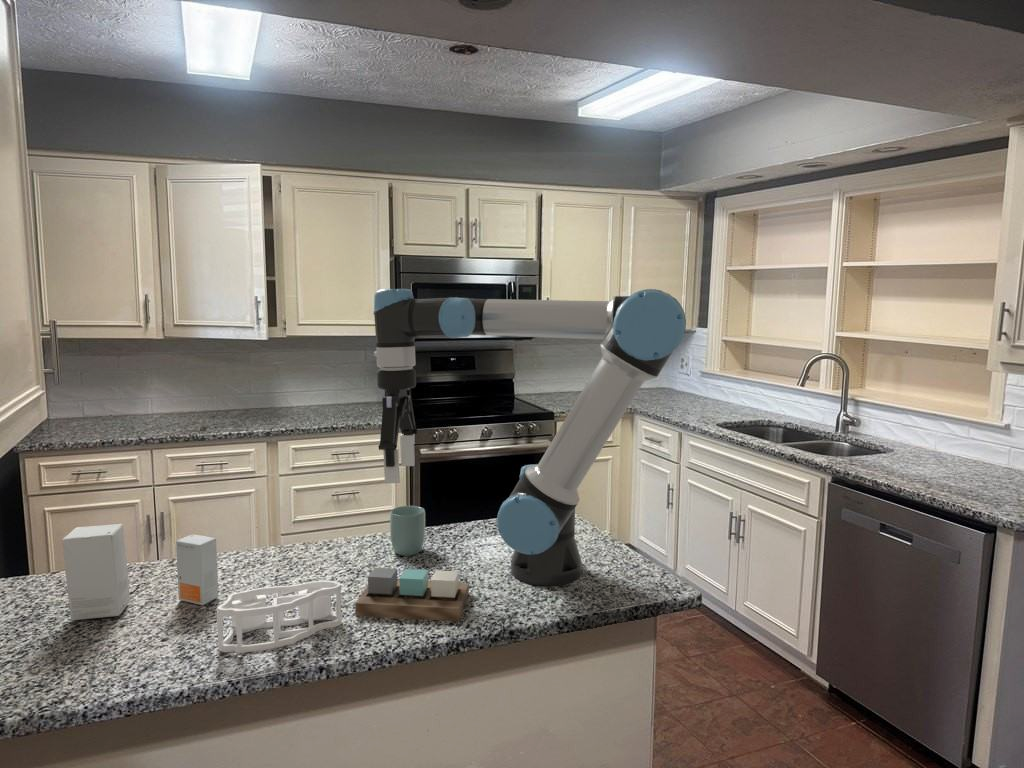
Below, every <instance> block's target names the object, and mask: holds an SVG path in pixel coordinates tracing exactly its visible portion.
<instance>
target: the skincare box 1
mask: <svg viewBox="0 0 1024 768" xmlns="http://www.w3.org/2000/svg"><path fill="white" fill-rule="evenodd" d="M124 530H125V529H124V524H123V523H117V524H116V523H115V524H103V525H91V526H90V525H89V526H78V527H75V528H74V529H72V530H71V532H69V533H68V534H67V535H65V536H64V537H63V538H62V539H61V542H62V544H61V545H62V553H63V561H64V570H65V579H66V589H67V597H68V598H67V599H68V607H69V615H70V621H79V620H89V619H90V620H92V619H100V618H108V617H119V616H120V615H121V614H122V613H123V611H124V610H125V609H126V607H127V606H128V605H129V603H130V602H131V594H130V583H129V574H128V572H129V571H128V562H127V561H128V560H127V552H126V551H127V550H126V543H125V542H126V541H125V531H124Z"/></svg>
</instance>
